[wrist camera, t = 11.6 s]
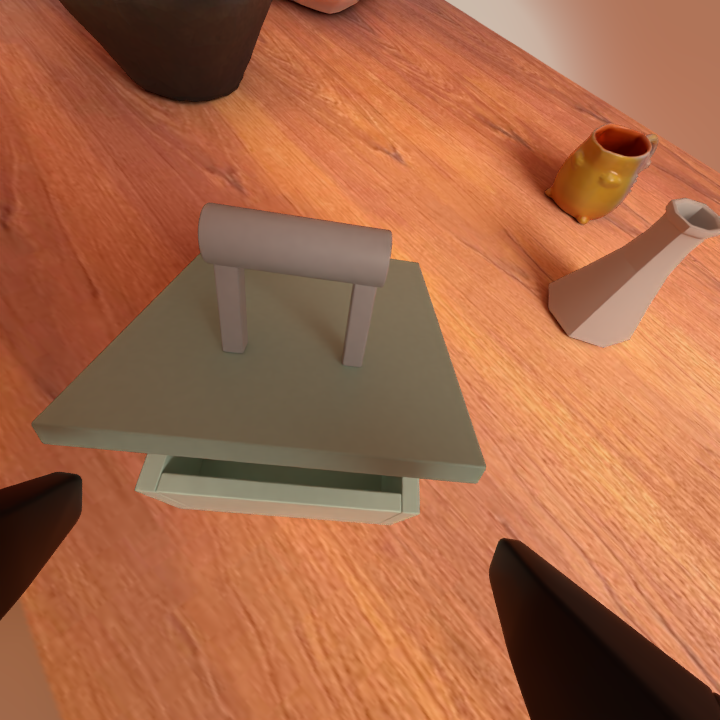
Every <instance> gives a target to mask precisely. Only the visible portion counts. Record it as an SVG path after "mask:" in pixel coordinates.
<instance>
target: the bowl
mask: <svg viewBox="0 0 720 720" xmlns="http://www.w3.org/2000/svg"><path fill="white" fill-rule="evenodd" d="M292 1H295V2H297V3H299V4H301V5H304V6H306V7H309V8H312V9H315V10H318V11H321V12H325V13H328V14H332V13H336V12H340V11H342V10H344V9H346V8H348V7H350V6H352V5H354V4H356V3H357V2H358V1H359V0H292Z"/></svg>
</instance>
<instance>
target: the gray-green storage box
mask: <svg viewBox="0 0 720 720" xmlns="http://www.w3.org/2000/svg"><path fill="white" fill-rule="evenodd" d="M135 491H137V492H139V493H142V494H144V495H147V496H149V497H152V498H155V499H157V500H160V501H162V502H165V503H167V504H170V505H172V506H175V507H178V508H182V509H194V510H207V511H219V512H232V513H244V514H257V515H269V516H282V517H294V518H307V519H319V520H332V521H344V522H357V523H369V524H382V525H392V524H395V523H397V522H400V521H403V520H405V519H408V518H411V517H413V516H416V515H419V514H420V495H419V478H409V477H398V476H387V475H376V474H365V473H355V472H344V471H333V470H322V469H311V468H300V467H290V466H279V465H268V464H257V463H246V462H235V461H225V460H214V459H203V458H192V457H181V456H170V455H160V454H149V453H147V456H146V459H145V462H144V465H143V467H142V470H141V473H140V476H139V478H138V481H137V484H136V487H135Z"/></svg>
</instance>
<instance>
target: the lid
mask: <svg viewBox="0 0 720 720" xmlns="http://www.w3.org/2000/svg"><path fill="white" fill-rule="evenodd" d="M198 242H199V249H200V254H199V255H198V256H197V257H196V258H195V259H194V260H193V261H192V262H191V263H190V264H189V265H188V266H187V267H186V268H185V269H184V270H183V271H182V272H181V273H180V274H179V275H178V276H177V277H176V278H175V279H174V280H173V281H172V282H171V283H170V284H169V285H168V286H167V287H166V288H165V289H164V290H163V291H162V292H161V293H160V294H159V295H158V296H157V297H156V298H155V299H154V300H153V301H152V302H151V303H150V304H149V305H148V306H147V307H146V308H145V309H144V310H143V311H142V312H141V313H140V314H139V315H138V316H137V317H136V318H135V319H134V320H133V321H132V322H131V323H130V324H129V325H128V326H127V327H126V328H125V329H124V330H123V331H122V332H121V333H120V334H119V335H118V336H117V337H116V338H115V339H114V340H113V341H112V342H111V343H110V344H109V345H108V346H107V347H106V348H105V349H104V350H103V351H102V352H101V353H100V354H99V355H98V356H97V357H96V358H95V359H94V360H93V361H92V362H91V363H90V364H89V365H88V366H87V367H86V368H85V369H84V370H83V371H82V372H81V373H80V374H79V375H78V377H77V378H76V379H75V380H74V381H73V382H72V383H71V384H70V385H69V386H68V387H67V388H66V389H65V390H64V391H63V392H62V393H61V394H60V395H59V396H58V397H57V398H56V399H55V400H54V401H53V402H52V403H51V404H50V405H49V406H48V407H47V408H46V409H45V410H44V411H43V412H42V413H41V414H40V415H39V416H38V417H37V418H36V419H35V420H34V421H33V422H32V427H33V428H34V430H35V432H36V433H37V435H38V437H39V438H40V440H41V442H42V443H44V444H51V445H62V446H73V447H84V448H95V449H105V450H116V451H127V452H138V453H149V454H160V455H170V456H181V457H192V458H203V459H214V460H225V461H235V462H246V463H257V464H268V465H279V466H290V467H300V468H311V469H322V470H333V471H344V472H355V473H365V474H376V475H387V476H398V477H409V478H420V479H431V480H441V481H452V482H463V483H474V484H476V483H478V481H479V479H480V478H481V476H482V474H483V473H484V471H485V469H486V464H485V461H484V458H483V455H482V452H481V449H480V446H479V443H478V440H477V437H476V434H475V431H474V428H473V425H472V422H471V419H470V416H469V413H468V410H467V407H466V404H465V401H464V398H463V395H462V392H461V389H460V386H459V383H458V380H457V377H456V374H455V371H454V368H453V365H452V362H451V359H450V356H449V353H448V350H447V347H446V344H445V341H444V338H443V335H442V332H441V329H440V326H439V323H438V320H437V317H436V314H435V311H434V308H433V305H432V302H431V299H430V296H429V293H428V290H427V287H426V284H425V281H424V278H423V275H422V272H421V269H420V266H419V263H416V262H409V261H402V260H395V259H390V257H391V249H392V232H391V231H390V230H385V229H378V228H372V227H365V226H359V225H352V224H346V223H339V222H333V221H326V220H320V219H313V218H307V217H300V216H294V215H287V214H281V213H274V212H268V211H261V210H255V209H248V208H242V207H235V206H229V205H222V204H216V203H207V204H205V205H204V207H203V208H202V211H201V214H200V218H199V224H198Z"/></svg>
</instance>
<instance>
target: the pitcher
mask: <svg viewBox="0 0 720 720" xmlns="http://www.w3.org/2000/svg"><path fill="white" fill-rule="evenodd" d="M59 1H60V2H61V3H62V4H63V6H64V7H65V8H66V9H67V10H68V11H69V12H70V13H71V14H72V15H73V16H74V17H75V18H76V20H77V21H78V22H79V23H80V24H81V25H83V26H84V27H85V29H86V30H87V31H88V32H89V33H90V34H91V35H92V36H93V37H94V38H95V39H96V40H97V41H98V42H99V43H100V44H101V45H102V46H103V47H104V49H105V50H106V51H107V52H108V53H109V54H110V55H111V57H112V58H113V59H114V60H115V61H116V62H117V63H118V65H119V66H120V67H121V68H122V69H123V70H124V71H125V72H126V73H127V75H128V76H129V77H130V78H131V79H133V80H134V81H135V82H136V83H137V84H138V85H140V86H141V87H142V88H144V89H145V90H148V91H150V92H153V93H156V94H158V95H162V96H165V97H169V98H172V99H175V100H178V101H184V100H188V101H194V102H197V101H207V100H212V99H215V98H219V97H222V96H226V95H228V94H230V93H231V92H233V91H235V90H236V89H237V88H238V87H239V83H240V81H241V80H242V78H243V74H244V71H245V69H246V67H247V65H248V63H249V61H250V58H251V55H252V52H253V50H254V47H255V44H256V41H257V38H258V36H259V33H260V30H261V27H262V25H263V22H264V20H265V17H266V15H267V12H268V10H269V7H270V5H271V2H272V0H59Z"/></svg>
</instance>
